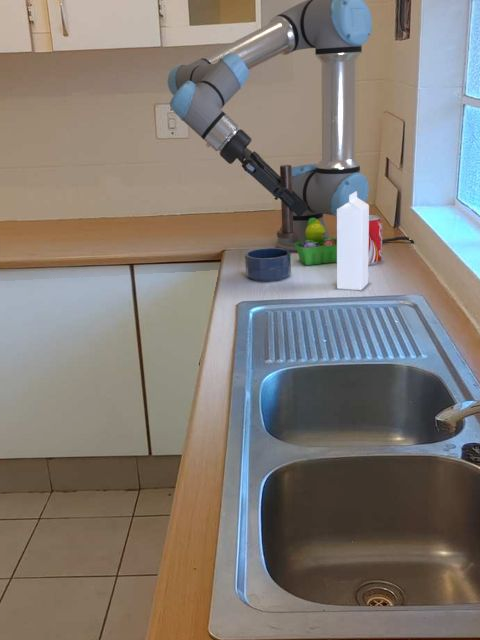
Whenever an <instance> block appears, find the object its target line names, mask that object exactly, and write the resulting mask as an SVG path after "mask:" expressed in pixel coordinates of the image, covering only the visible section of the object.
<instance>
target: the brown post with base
mask: <svg viewBox="0 0 480 640" xmlns="http://www.w3.org/2000/svg"><path fill="white" fill-rule="evenodd" d="M291 167H292V164H282V165H280V166H279V176H280V181H281V185H282V186H283V187H285V189H288V190H289V191H290V192H291V193H292V168H291ZM280 207H281V226H282V230H280V229H279V230H277V231H276V237H277V239H278V238H282V239H290V238H296V237H298V236H299V230H297V229H293V211H292V210H291V209H290V208H289V207H288V206H287V205H286V204H285V203H284V202H283V201H282V200H280Z"/></svg>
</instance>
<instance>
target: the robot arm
mask: <svg viewBox="0 0 480 640" xmlns="http://www.w3.org/2000/svg"><path fill="white" fill-rule="evenodd" d="M372 29H373V20H372V12H371V10H370V7H369V6H368V4H367V3H366V2H365V0H304V1H302V2H299V3H297V4H296V5H294V6H291V7H290V8H288V9H286V10H284V11H283V12H281V13H278V14H277V15H275V16H273V17H272V18H270V20H269V21H268V24H266V25H264V26H263V27H261V28H258V29H257V30H254V31H253V32H250V33H249V34H247V35H245V36H243V37H240V38H239V39H237V40H235V41H233V42H231V43H229V44H227V45H225V46H223V47H221V48H219V49H217V50H215V51H213V52H211V53H209V54H207V55H204V56H203V57H201V58H200V59H197V60H195V61H193V62H191V63H189V64H180V65H177V66H175V67H173V68H172V69H171V70H170V72H169V73H168V76H167V87H168V90H169V92H170V93H171V94H172V97H171V99H170V101H169V107H170V109H171V110H172V111H173V113H175V115H176V116H178V118H179V119H180V120H181V121H182V122H183V123H184V124H186V125H187V126H188V127H189V128H191V129H192V131H194V132H195V133H196V134H197V135H198V136H199V137H200V138H201V139H202V140H204V142H206V144H205V145H206V147H207V148H210V147H211V149H213V150H214V151H215V152H218V151H219V156H220V157H221V158H222V159H223V160H224V161H226V162H227V163H228V164H229V165H232V164H233V163H234V162H235V161H236V160H238V161H239V163H241V167H242V169H243V170H244V172H246V173H248V174H249V175H250V176H251V177H252V178H254V179H255V181H257V183H259V184H260V185H261V186H262V187H263V188H264V189H266V190H267V191H268V192H269V193H270V194H271V195H272V196H273V197H274V198H273V199H274V200H275V201H278V200H280V201H281V200H282V201H283V202H284V203H285V204H286V205H287V206H288V207H289V208H290V209H291V210H292V211H293V229H297V230H299V236H298V237H296V238H290V239H282V238H278V237H277V241H276V243H277V245H276V247H277V248H281V249H286V250H289V251H290V253H291V252H293V253H298V251H297V248H296V246H295V243H297V242H303V241H306V240H308V239H307V238H306V235H305V231H306V228H307V226H308V220H309V219H310V218H316V219H318V220H319V221H320V222H321V224H322V225H323V227H324V228H325V231H326V233H325V234H324V235H323V239H324V238H325V239H328V238H330V235H329V233H328V229H327V226H326V223H325V221H324V215H329V216H334V217H337V209H338V208H340V207H341V206H343V205H344V204H346V203H348V202H349V195H351V194H352V193H354V192H355V191H357V198H359V199H360V200H362V201H364V202H365V203H367V200H368V198H369V192H370V184H369V181H368V179H367V177H366V176H365V175H364V174H363V173H362V172H361V164H360V162H359V161H358V160H357V159H356V158H355V135H356V134H355V133H356V128H355V127H356V125H355V124H356V61H357V60H358V58H359V57H360V56H361V54H363V53H362V52H363V50H362V49H363V47H362V46H363V45H364V44H365V43H366V42H367V41H368V40H369V39H370V38H369V37H370V36H371V34H372ZM306 49H315V51H314V53H315V57H316V59H318V60H319V62H320V63H321V160H319V162H318V163H310V164H302V165H296V166H291V168H292V193H291V192H290V191H289V190H288V189H285V187H283V186H282V185H281V181H280V174H279V173H278V172H276V170H274V169H273V168H272V167H271V165H269V164H268V162H266V161H265V160H264V158H262V157H261V155H260V154H259V153H258V152H256V151H255V150H254V151H252V150H251V149H249V148H248V146H249V145H250V144H251V142H252V140H253V139H252V137H250V136H249V134H248V133H246V131H245V130H244V129H239V125H238V124H237V123H236V122H235V121H234V120H233V119H232V118H231V117H230V116H229V115H228V114H227V113H225V112H224V111H223V110H222V109H223V108H224V106H225V105H226V104H227V103H228V102H230V100H231V99H232V98H233V97H234V96H235V95H236V94H237V92H238V91H240V90H241V89H242V87H243V86H244V84H246V82H247V81H248V79H249V76H250V73H249V71H250V70H252V69H254V68H255V67H257V66H259V65H262V64H263V63H265V62H267V61H269V60H271V59H273V58H275V57H277V56H278V55H283V56H285V55H289V54H291V53H293V52H295V51H300V50H306ZM279 230H282V225H281V226H280V228H279ZM409 238H410V237H408V236H396V237H391V238H384V239H382V244H383V243H388V242H395V241H403V240H405V241H408V242H410V243H411V244H415V243H414V241H415V240H414V239H412V240H409ZM335 239H336V240H337V238H335ZM413 240H414V241H413Z"/></svg>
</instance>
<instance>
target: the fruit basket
mask: <svg viewBox="0 0 480 640" xmlns="http://www.w3.org/2000/svg"><path fill="white" fill-rule="evenodd" d="M325 233H326V231H325V228H324V227H323V225H322V224H321V222H320V221H319V220H318V219H316V218H310V219H309V220H308V226H307V228H306V231H305V235H306V238H307V239H308V240H306V241H303V242H297V243H295V246H296V248H297V251H298V252H297V255H298V258H299V261H300V262H301V263H302V264H304V265H305V266H312V265H320V264H328V263H337V240H336V239H337V238H335V237H329V238H328V239H325V238H324V239H323V235H324V234H325Z"/></svg>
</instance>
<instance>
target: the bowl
mask: <svg viewBox="0 0 480 640" xmlns="http://www.w3.org/2000/svg"><path fill="white" fill-rule="evenodd" d="M244 254H245V255H244V259H245V260H244V261H245V276H247V278H250V279H251V280H253V281H256V282H276V281H281V280H283V279H286V278H287V277H288V276H290V275H291V274H292V265H291V264H292V262H291V251H289V250H286V249H281V248H278V247H265V248H257V249H252V250H249V251H247V252H246V253H244Z"/></svg>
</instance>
